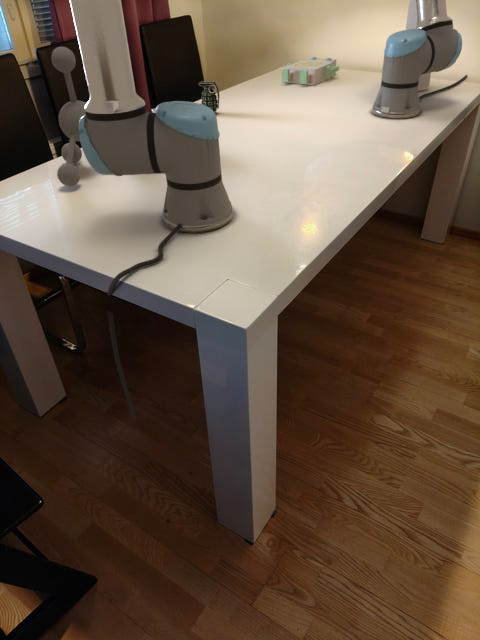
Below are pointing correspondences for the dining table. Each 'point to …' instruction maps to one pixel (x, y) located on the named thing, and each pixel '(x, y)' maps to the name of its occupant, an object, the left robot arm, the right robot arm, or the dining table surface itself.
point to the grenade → (210, 95)
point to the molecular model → (69, 118)
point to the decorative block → (310, 71)
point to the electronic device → (412, 24)
